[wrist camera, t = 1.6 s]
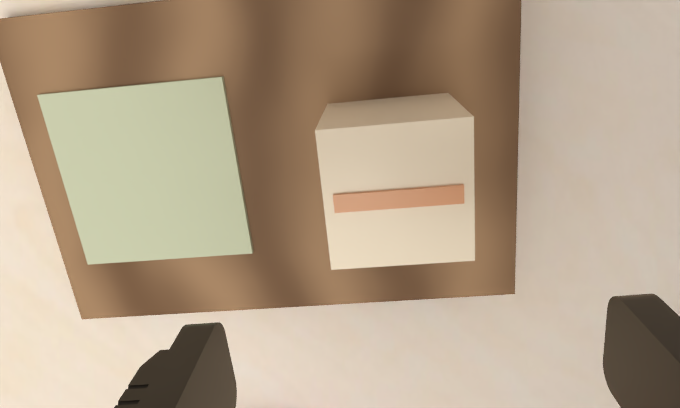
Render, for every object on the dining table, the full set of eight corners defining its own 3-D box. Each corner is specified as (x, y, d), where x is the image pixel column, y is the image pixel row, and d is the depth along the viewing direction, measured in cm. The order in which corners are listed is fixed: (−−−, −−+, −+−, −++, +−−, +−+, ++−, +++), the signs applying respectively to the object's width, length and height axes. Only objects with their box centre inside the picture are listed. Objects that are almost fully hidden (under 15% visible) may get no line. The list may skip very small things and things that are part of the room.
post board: (512, -36, 23) (560, -54, 17) (507, 280, 28) (542, 345, 22) (8, 20, 25) (-98, 20, 19) (95, 305, 30) (32, 371, 24)
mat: (223, 76, 23) (221, 77, 23) (253, 250, 27) (252, 253, 26) (40, 94, 24) (36, 94, 24) (90, 262, 27) (87, 264, 27)
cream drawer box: (448, 92, 23) (474, 117, 17) (451, 206, 25) (475, 262, 19) (327, 103, 24) (314, 131, 18) (339, 214, 26) (331, 271, 20)
